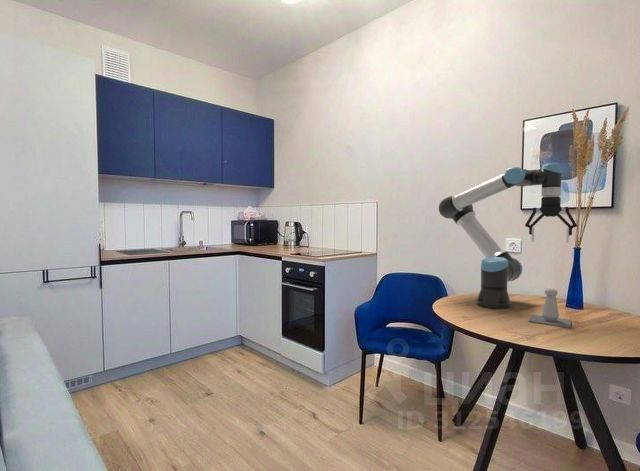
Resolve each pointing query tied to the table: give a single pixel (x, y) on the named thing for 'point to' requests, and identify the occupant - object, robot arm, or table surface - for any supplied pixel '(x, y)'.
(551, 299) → the salt shaker
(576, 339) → the table surface
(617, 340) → the table surface
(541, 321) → the mat
